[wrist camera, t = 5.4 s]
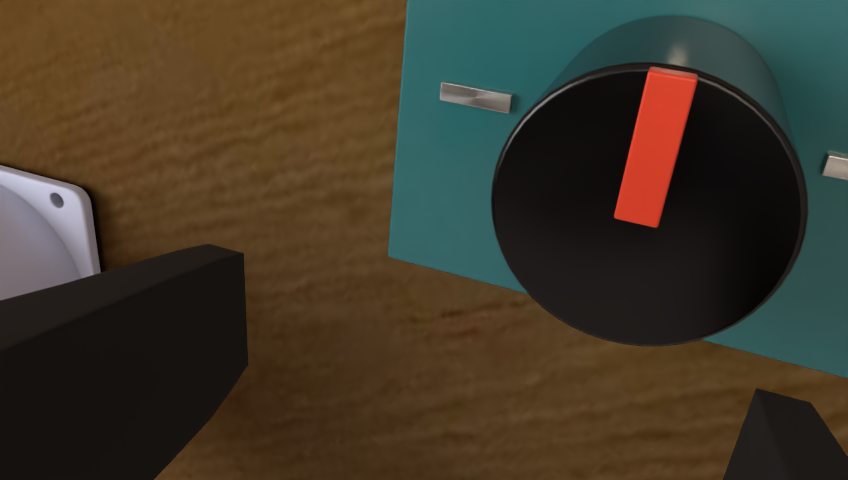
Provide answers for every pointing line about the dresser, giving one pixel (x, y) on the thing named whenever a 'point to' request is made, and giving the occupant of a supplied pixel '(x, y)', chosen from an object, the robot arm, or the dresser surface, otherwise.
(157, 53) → the dresser surface
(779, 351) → the dial panel
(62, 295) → the robot arm
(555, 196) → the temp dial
